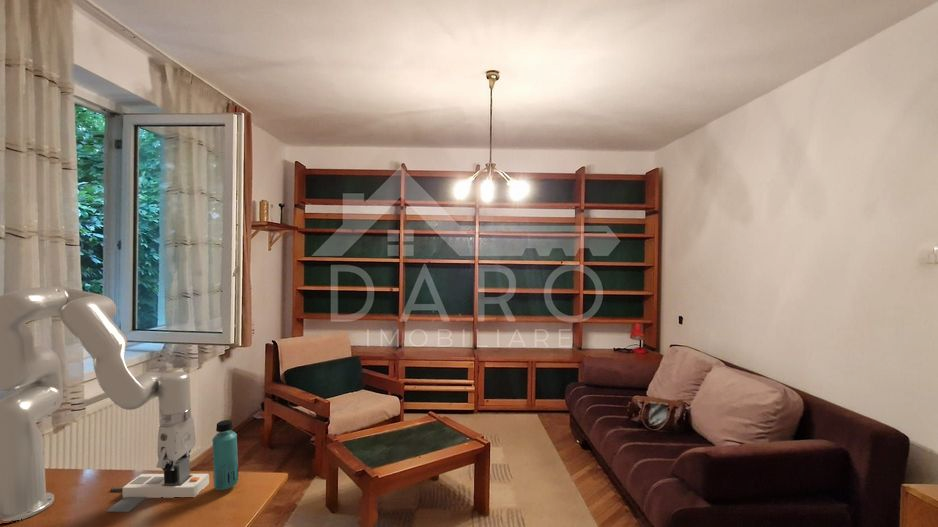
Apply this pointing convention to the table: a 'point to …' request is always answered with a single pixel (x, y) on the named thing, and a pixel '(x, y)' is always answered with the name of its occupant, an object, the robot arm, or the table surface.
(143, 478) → the power strip
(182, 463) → the charger
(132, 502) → the coaster
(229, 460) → the beverage bottle
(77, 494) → the table surface
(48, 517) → the table surface
